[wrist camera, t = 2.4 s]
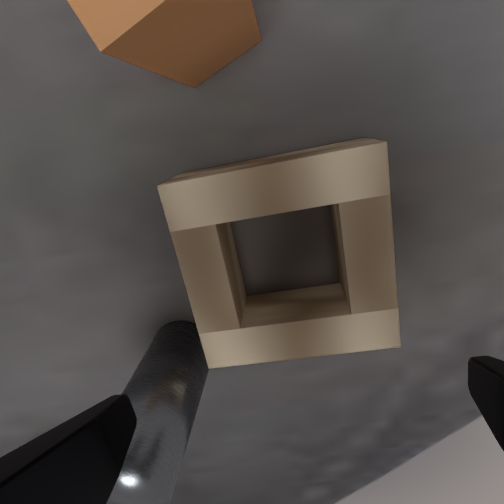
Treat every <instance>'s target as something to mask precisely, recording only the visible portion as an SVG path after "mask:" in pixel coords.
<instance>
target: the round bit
mask: <svg viewBox="0 0 504 504" xmlns="http://www.w3.org/2000/svg"><path fill="white" fill-rule="evenodd" d="M208 371H209V368H208V365H207V361H206V358H205V354H204V351H203V347H202V343H201V340H200V336H199V333H198V329H197V326H196V324H194V323H191V322H188V321H174V322H171V323H168V324H166V325H164V326H163V327H162V328H161V329H160V330H159V331H158V333H157V334H156V336H155V338H154V340H153V341H152V343H151V345H150V346H149V348H148V350H147V352H146V353H145V355H144V357H143V358H142V360H141V362H140V363H139V365H138V367H137V369H136V370H135V372H134V374H133V375H132V377H131V379H130V381H129V382H128V384H127V386H126V387H125V389H124V391H123V393H122V394H126V395H128V397H129V399H130V401H131V404H132V406H133V409H134V411H135V414H136V417H137V425H136V429H135V432H134V435H133V438H132V441H131V444H130V446H129V449H128V452H127V455H126V458H125V461H124V464H123V467H122V469H121V472H120V474H119V477H118V479H117V482H116V484H115V486H114V488H113V490H112V493H111V495H110V497H109V499H108V501H107V503H106V504H170V501H171V498H172V494H173V491H174V487H175V484H176V481H177V477H178V474H179V470H180V467H181V463H182V460H183V457H184V453H185V450H186V446H187V443H188V439H189V436H190V433H191V429H192V426H193V422H194V419H195V415H196V412H197V409H198V405H199V402H200V398H201V395H202V391H203V388H204V385H205V381H206V378H207V374H208Z"/></svg>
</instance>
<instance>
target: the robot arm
mask: <svg viewBox="0 0 504 504" xmlns="http://www.w3.org/2000/svg"><path fill="white" fill-rule="evenodd" d="M468 387H469V391H470V394H471V396H472V398H473V400H474V401H475V403H476V405H477V407H478V408H479V410H480V412H481V414H482V415H483V417H484V419H485V421H486V422H487V424H488V426H489V428H490V429H491V431H492V433H493V434H494V436H495V438H496V440H497V441H498V443H499V445H500V446H501V448H502V449H503V451H504V361H502V360H499V359H496V358H493V357H490V356H476V357H471V358H470V359H469V361H468ZM136 425H137V417H136V414H135V411H134V409H133V406H132V404H131V401H130V399H129V397H128V395H126V394H121V395H113V396H111V397H109V398H107V399H105V400H104V401H102V402H100V403H98V404H96V405H95V406H93V407H91V408H89V409H87V410H85V411H84V412H82V413H80V414H78V415H76V416H75V417H73V418H71V419H69V420H67V421H66V422H64V423H62V424H60V425H58V426H57V427H55V428H53V429H51V430H49V431H48V432H46V433H44V434H42V435H40V436H39V437H37V438H35V439H33V440H31V441H29V442H28V443H26V444H24V445H22V446H20V447H19V448H17V449H15V450H13V451H11V452H10V453H8V454H6V455H4V456H2V457H1V458H0V504H106V503H107V501H108V499H109V497H110V495H111V493H112V490H113V488H114V486H115V484H116V482H117V479H118V477H119V474H120V472H121V469H122V467H123V464H124V461H125V458H126V455H127V452H128V449H129V446H130V444H131V441H132V438H133V435H134V432H135V429H136Z"/></svg>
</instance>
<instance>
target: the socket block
mask: <svg viewBox="0 0 504 504" xmlns="http://www.w3.org/2000/svg"><path fill="white" fill-rule="evenodd" d="M157 188H158V192H159V195H160V199H161V202H162V206H163V209H164V213H165V216H166V220H167V223H168V227H169V230H170V234H171V238H172V241H173V245H174V248H175V252H176V255H177V259H178V262H179V266H180V269H181V273H182V276H183V280H184V283H185V287H186V290H187V294H188V298H189V301H190V305H191V308H192V312H193V315H194V319H195V322H196V326H197V329H198V333H199V336H200V340H201V343H202V347H203V351H204V354H205V358H206V361H207V365H208V368H209V369H210V368H219V367H228V366H237V365H245V364H254V363H263V362H272V361H281V360H289V359H298V358H307V357H316V356H325V355H333V354H342V353H351V352H360V351H369V350H377V349H386V348H395V347H401V343H400V328H399V313H398V298H397V283H396V268H395V254H394V239H393V224H392V209H391V194H390V179H389V164H388V149H387V142H386V141H381V140H376V139H371V138H366V137H365V138H360V139H355V140H350V141H345V142H339V143H334V144H329V145H324V146H319V147H314V148H309V149H304V150H298V151H293V152H288V153H283V154H278V155H273V156H268V157H263V158H257V159H252V160H247V161H242V162H237V163H232V164H227V165H222V166H216V167H211V168H206V169H201V170H196V171H191V172H186V173H181V174H179V175H177V176H175V177H173V178H171V179H169V180H167V181H165V182H163V183H161V184H159V185H157Z"/></svg>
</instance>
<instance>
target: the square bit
mask: <svg viewBox="0 0 504 504" xmlns="http://www.w3.org/2000/svg"><path fill="white" fill-rule="evenodd" d="M67 1H68V3H69V4H70V6H71V7H72V9H73V10H74V12H75V13H76V15H77V16H78V18H79V20H80V21H81V23H82V24H83V26H84V27H85V29H86V30H87V32H88V33H89V35H90V36H91V38H92V40H93V41H94V43H95V44H96V46H97V47H98V49H99V50H100V52H102V53H105V54H107V55H110V56H112V57H115V58H118V59H120V60H123V61H125V62H128V63H131V64H133V65H136V66H138V67H141V68H144V69H146V70H149V71H151V72H154V73H157V74H159V75H162V76H164V77H167V78H169V79H172V80H175V81H177V82H180V83H182V84H185V85H188V86H190V87H193V88H195V87H196V86H198V85H199V84H201V83H202V82H203V81H205V80H206V79H208V78H209V77H211V76H212V75H213V74H215V73H216V72H218V71H219V70H220V69H222V68H223V67H225V66H226V65H228V64H229V63H230V62H232V61H233V60H235V59H236V58H238V57H239V56H240V55H242V54H243V53H245V52H246V51H247V50H249V49H250V48H252V47H253V46H255V45H256V44H257V43H259V42H260V41H262V40H261V36H260V32H259V28H258V24H257V20H256V16H255V12H254V8H253V4H252V0H67Z"/></svg>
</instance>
